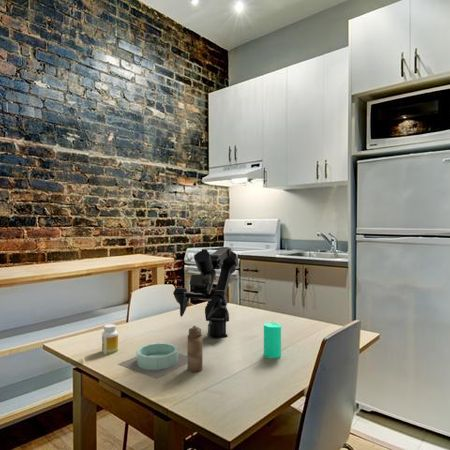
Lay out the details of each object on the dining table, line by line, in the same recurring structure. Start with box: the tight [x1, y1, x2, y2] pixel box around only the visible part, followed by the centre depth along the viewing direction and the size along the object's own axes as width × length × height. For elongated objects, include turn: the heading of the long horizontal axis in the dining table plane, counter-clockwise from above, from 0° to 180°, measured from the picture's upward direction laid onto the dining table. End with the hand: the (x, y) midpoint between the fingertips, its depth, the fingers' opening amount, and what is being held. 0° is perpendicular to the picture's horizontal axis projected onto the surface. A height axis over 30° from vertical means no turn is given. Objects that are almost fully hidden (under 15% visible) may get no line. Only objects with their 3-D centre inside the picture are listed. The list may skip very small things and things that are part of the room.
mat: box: [117, 352, 188, 379], centre depth 115 cm, size 18×18×1 cm
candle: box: [263, 320, 282, 359], centre depth 122 cm, size 6×6×12 cm
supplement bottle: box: [101, 323, 119, 355], centre depth 124 cm, size 5×5×10 cm
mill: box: [187, 325, 203, 374], centre depth 108 cm, size 5×5×14 cm
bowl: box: [136, 342, 179, 370], centre depth 115 cm, size 13×13×4 cm
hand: (193, 317), depth 117 cm, fingers open, 9 cm apart
